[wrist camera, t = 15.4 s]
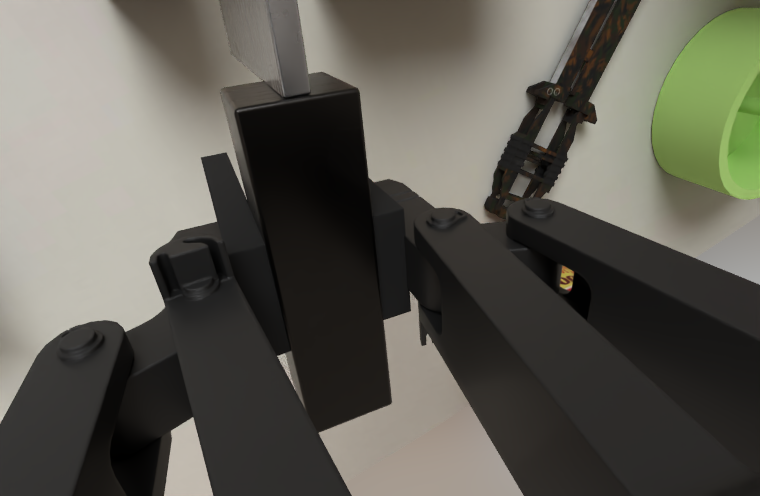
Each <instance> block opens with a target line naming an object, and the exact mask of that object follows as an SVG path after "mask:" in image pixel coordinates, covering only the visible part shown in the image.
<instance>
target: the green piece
mask: <svg viewBox="0 0 760 496" xmlns="http://www.w3.org/2000/svg"><path fill="white" fill-rule="evenodd" d="M652 146H653V150H654V155H655V157H656V159H657V161H658V163H659V165H660V166H661V167H662V168H663V169H664V170H665V171H666V172H667V173H669V174H671V175H673V176H675V177H678V178H681V179H684V180H687V181H690V182H692V183H695V184H698V185H701V186H704V187H707V188H710V189H713V190H715V191H718V192H721V193H724V194H727V195H730V196H733V197H735V198H738V199H747V200H750V199H755V198H760V8H737V9H734V10H730V11H727V12H725V13H723V14H722V15H720V16H718V17H716V18H714V19H713V20H712V21H710V22H709V23H708V24H707V25H706V26H704V27H703V28H702V29H701V30H700V31H699V32H698V33H697V34H696V35H695V36H694V37H693V38H692V39H691V40H690V41H689V42H688V44H687V45H686V46H685V48H684V49H683V51H682V52H681V53H680V55H679V56H678V57H677V59H676V60H675V62H674V64H673V66H672V68H671V69H670V71H669V73H668V75H667V77H666V79H665V81H664V84H663V86H662V89H661V91H660V93H659V96H658V100H657V103H656V107H655V110H654V116H653V123H652Z"/></svg>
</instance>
